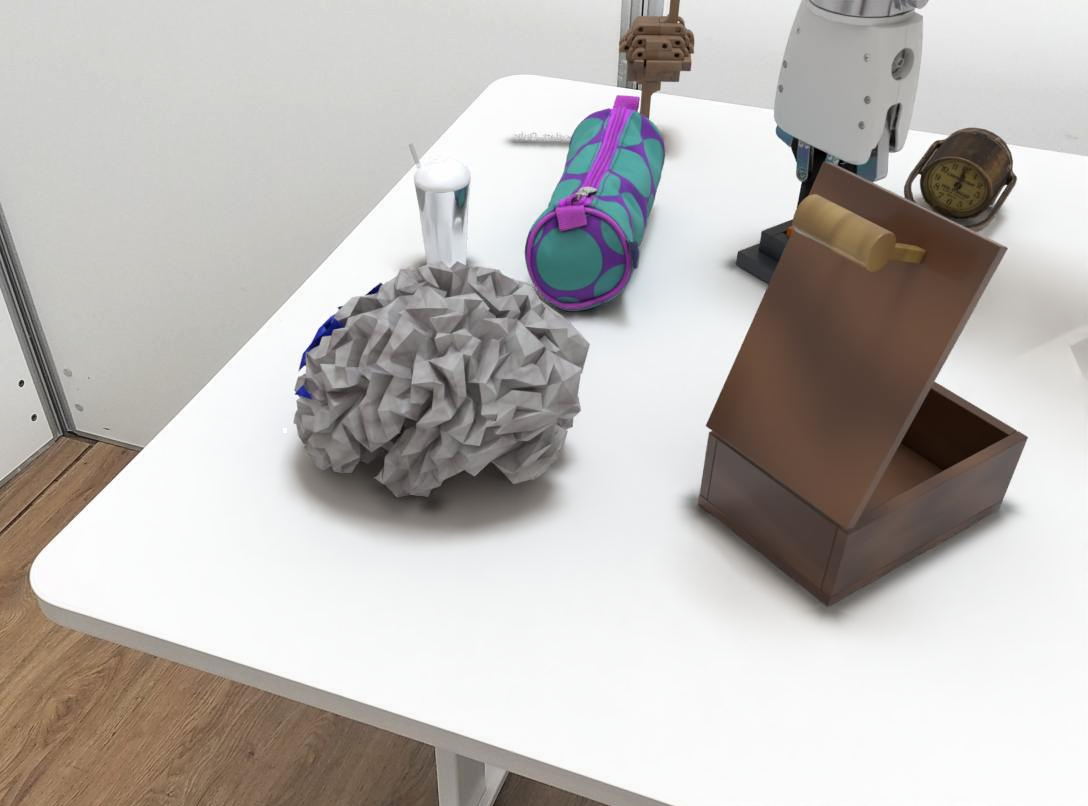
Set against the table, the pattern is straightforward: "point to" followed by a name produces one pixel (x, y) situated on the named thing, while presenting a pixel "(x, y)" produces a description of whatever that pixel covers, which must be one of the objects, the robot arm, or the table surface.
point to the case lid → (850, 338)
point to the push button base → (765, 252)
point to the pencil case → (597, 209)
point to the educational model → (441, 379)
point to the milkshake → (443, 208)
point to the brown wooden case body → (871, 499)
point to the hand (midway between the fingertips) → (813, 228)
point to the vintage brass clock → (965, 175)
